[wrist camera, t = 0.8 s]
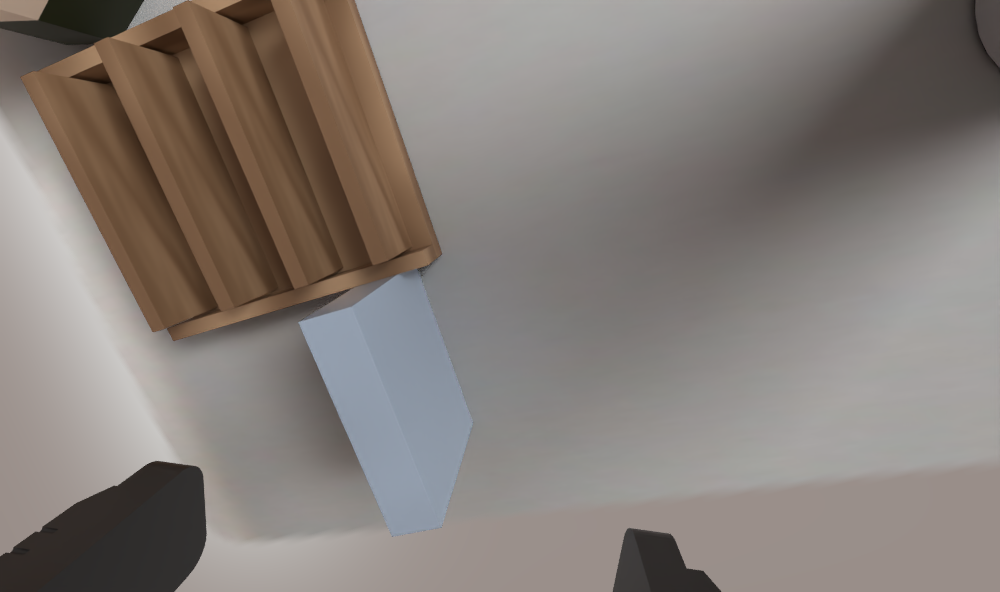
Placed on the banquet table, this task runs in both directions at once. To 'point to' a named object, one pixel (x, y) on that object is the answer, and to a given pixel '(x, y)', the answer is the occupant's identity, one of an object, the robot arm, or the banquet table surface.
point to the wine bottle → (68, 18)
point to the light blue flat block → (394, 396)
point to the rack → (238, 158)
